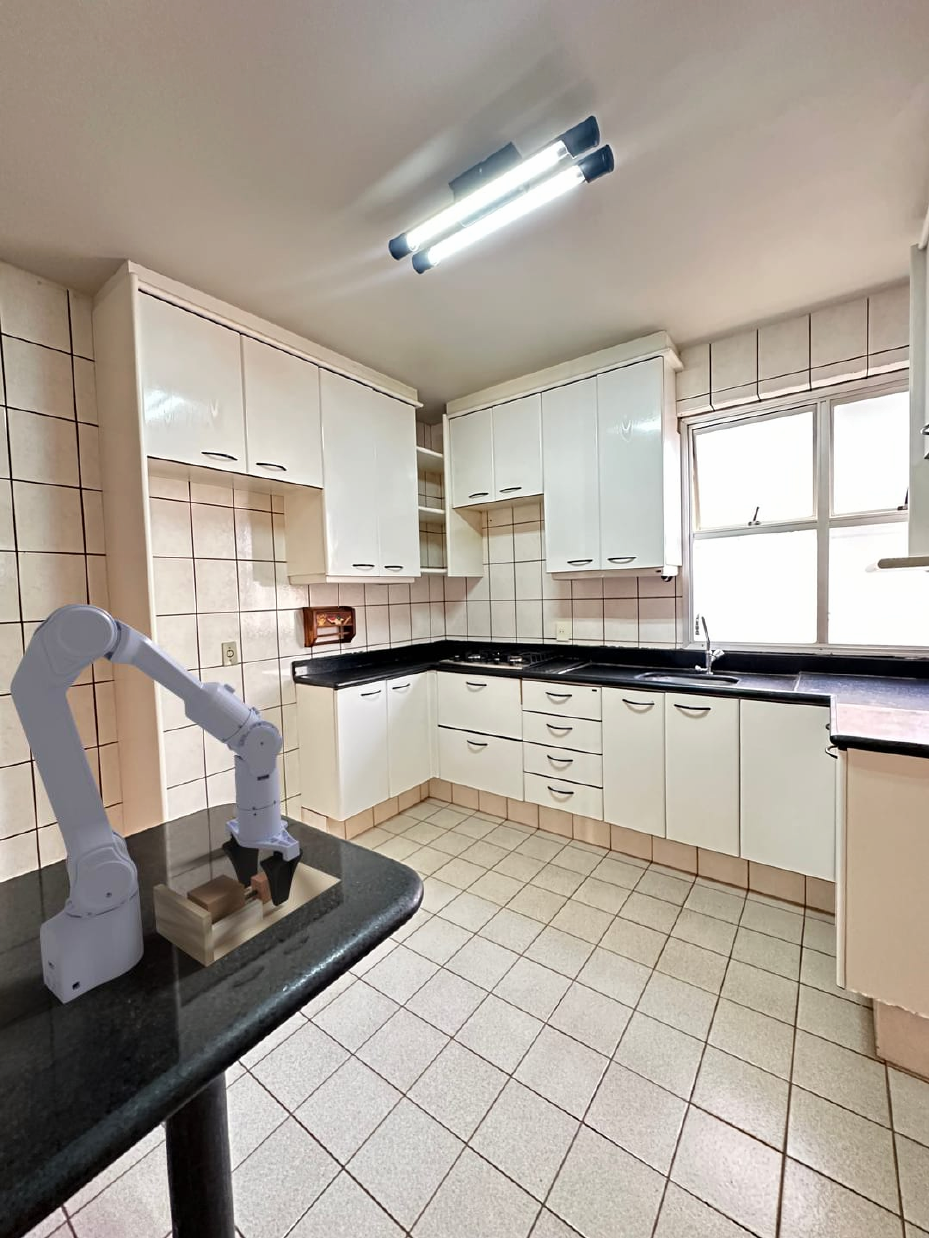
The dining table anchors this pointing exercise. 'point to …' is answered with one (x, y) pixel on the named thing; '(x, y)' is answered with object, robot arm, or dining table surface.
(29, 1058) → the dining table surface
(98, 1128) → the dining table surface
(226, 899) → the walnut block
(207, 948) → the shelf lane
